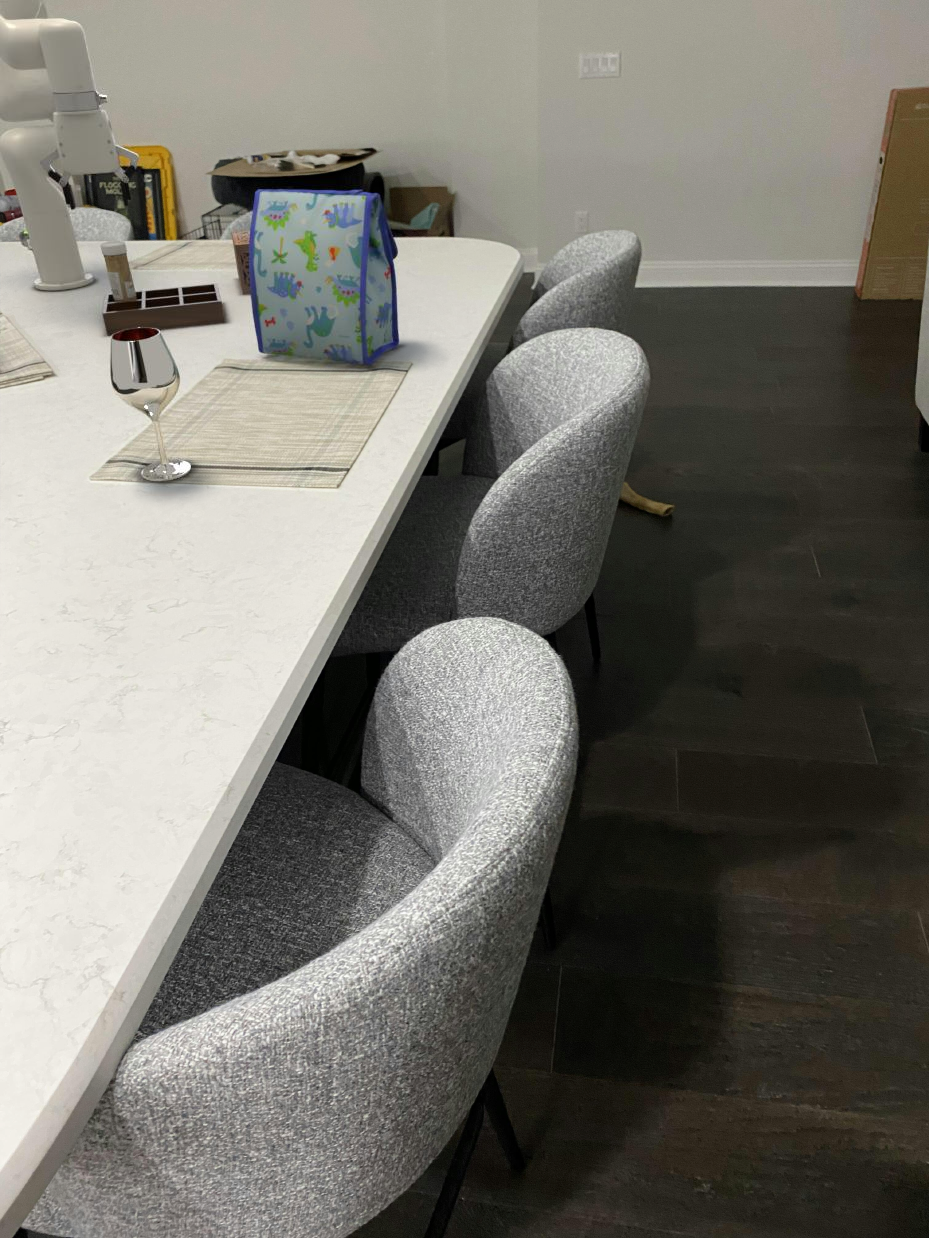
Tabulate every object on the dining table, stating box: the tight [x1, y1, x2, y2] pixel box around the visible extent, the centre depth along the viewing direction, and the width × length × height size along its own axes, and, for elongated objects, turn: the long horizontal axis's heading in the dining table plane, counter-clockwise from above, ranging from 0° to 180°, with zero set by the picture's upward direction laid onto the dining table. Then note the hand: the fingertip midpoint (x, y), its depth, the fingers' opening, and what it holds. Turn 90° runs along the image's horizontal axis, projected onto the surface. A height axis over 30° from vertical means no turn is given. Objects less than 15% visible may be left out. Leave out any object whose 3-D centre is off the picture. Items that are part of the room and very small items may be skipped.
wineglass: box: [109, 328, 192, 482], centre depth 117 cm, size 8×8×18 cm
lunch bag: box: [249, 188, 400, 366], centre depth 155 cm, size 22×17×26 cm
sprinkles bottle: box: [100, 240, 137, 302], centre depth 180 cm, size 5×5×13 cm
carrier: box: [101, 282, 226, 336], centre depth 182 cm, size 15×22×4 cm
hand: (100, 206), depth 174 cm, fingers open, 9 cm apart
